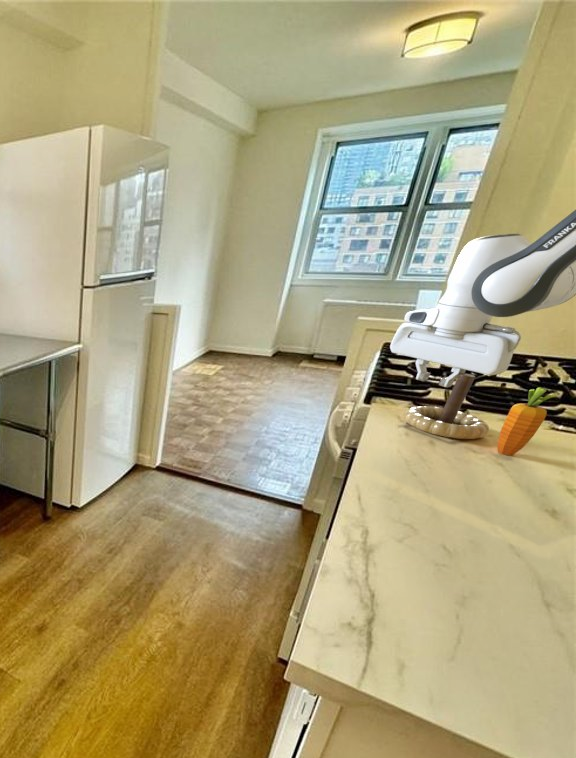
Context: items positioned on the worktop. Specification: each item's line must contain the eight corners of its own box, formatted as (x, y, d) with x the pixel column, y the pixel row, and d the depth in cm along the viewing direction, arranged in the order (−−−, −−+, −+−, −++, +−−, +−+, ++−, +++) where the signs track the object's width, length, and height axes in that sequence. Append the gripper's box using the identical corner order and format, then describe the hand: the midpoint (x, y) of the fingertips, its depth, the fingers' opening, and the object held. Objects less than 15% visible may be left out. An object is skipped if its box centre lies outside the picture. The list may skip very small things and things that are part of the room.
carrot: (494, 452, 98) (532, 381, 91) (525, 463, 94) (568, 390, 87) (478, 455, 97) (516, 384, 90) (509, 467, 92) (551, 393, 86)
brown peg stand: (476, 439, 103) (508, 379, 97) (449, 445, 101) (480, 383, 95) (429, 423, 111) (456, 367, 105) (403, 428, 108) (428, 370, 102)
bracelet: (500, 436, 101) (506, 423, 100) (458, 445, 97) (464, 432, 96) (427, 413, 113) (432, 401, 112) (387, 420, 109) (392, 408, 108)
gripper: (535, 328, 92) (500, 396, 98) (417, 310, 109) (394, 369, 115) (514, 330, 90) (480, 400, 96) (398, 311, 107) (375, 371, 114)
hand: (432, 383), depth 106 cm, fingers open, 3 cm apart
